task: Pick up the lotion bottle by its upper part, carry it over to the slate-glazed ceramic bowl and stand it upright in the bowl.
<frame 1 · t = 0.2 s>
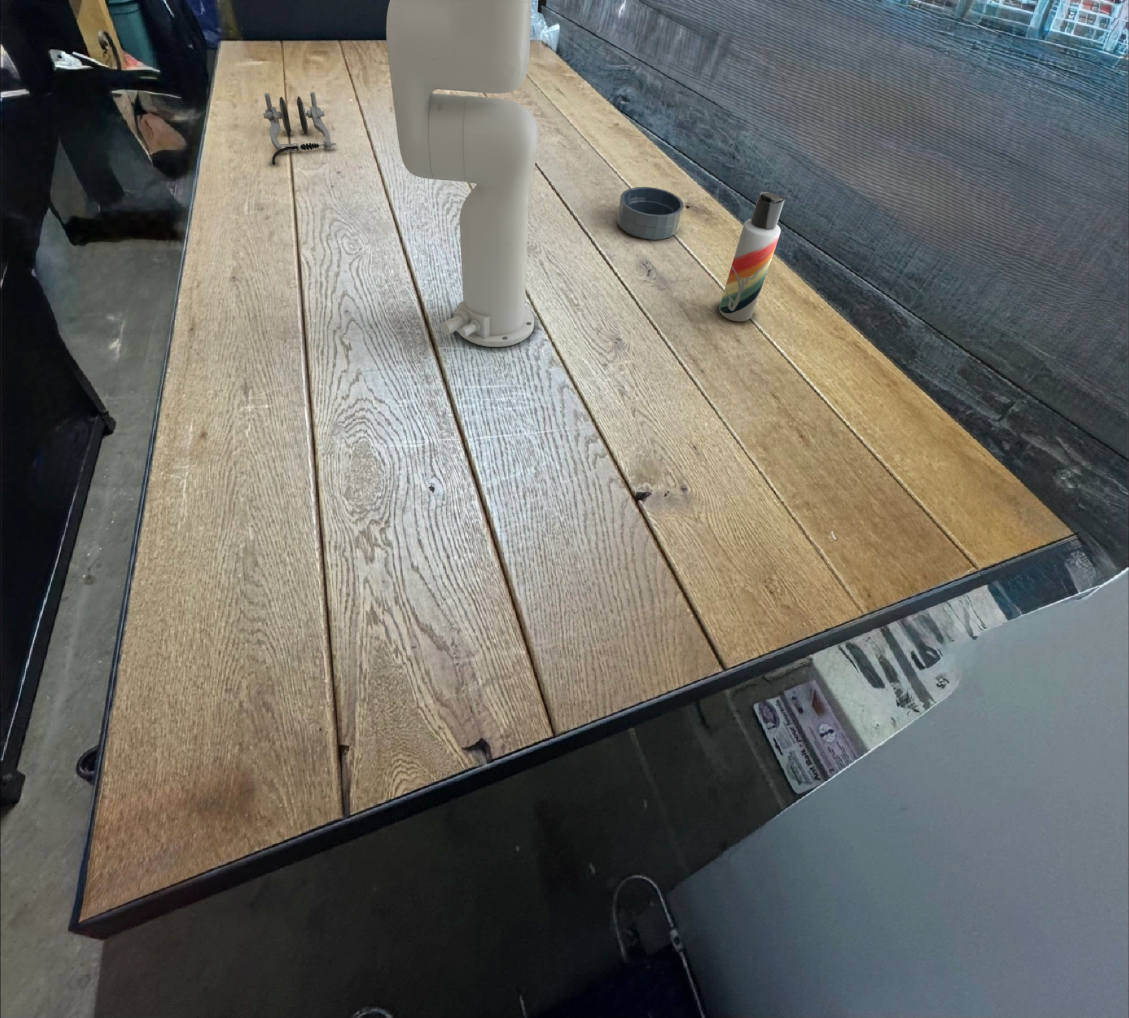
hand: (510, 8, 109), 31 cm above the table, tool pointing down, fingers open, 9 cm apart
lotion bottle: (734, 313, 111), on the table
bowl: (647, 226, 129), on the table
bike brake: (301, 144, 141), on the table
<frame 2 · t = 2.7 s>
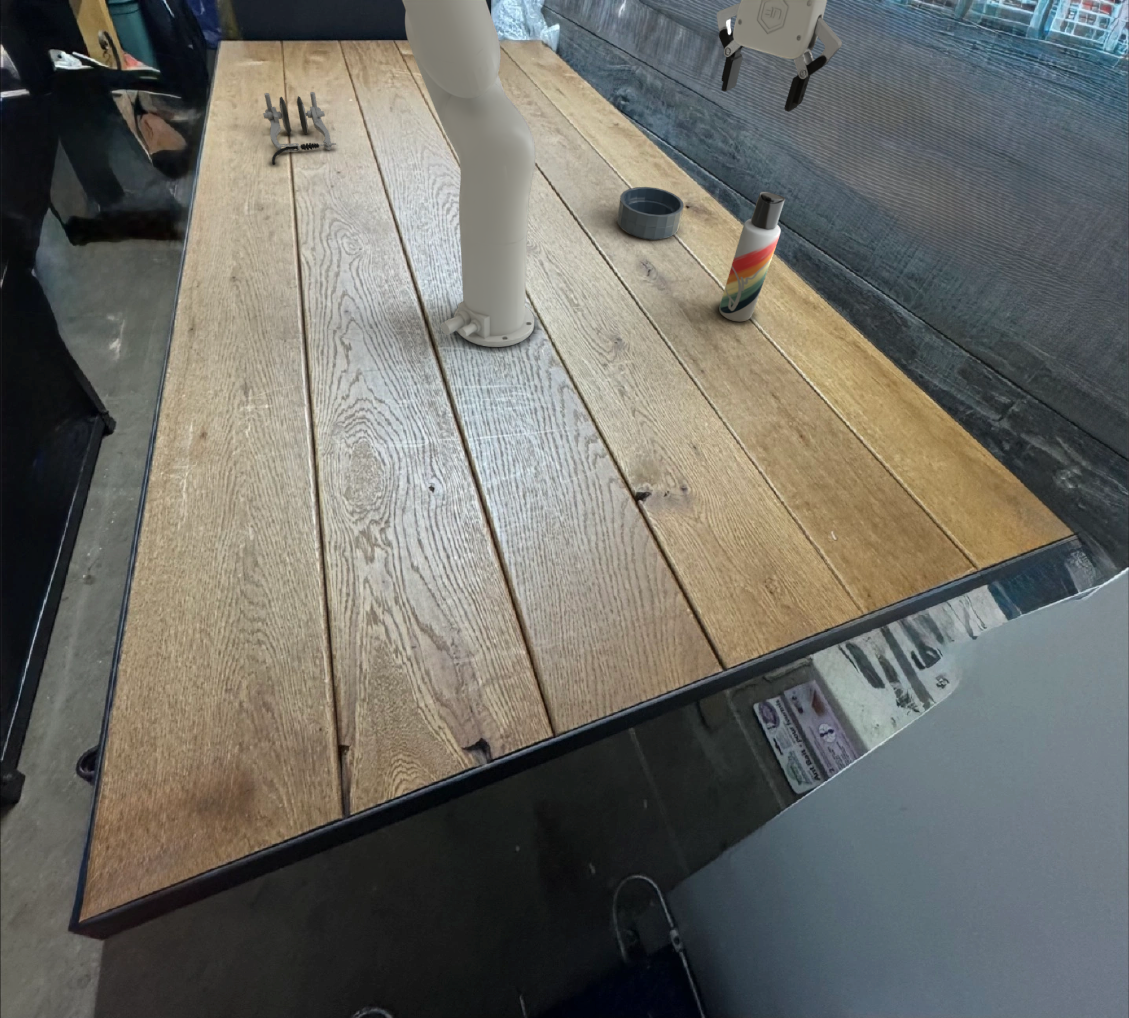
hand: (758, 98, 90), 31 cm above the table, tool pointing down, fingers open, 9 cm apart
nothing on the table moved.
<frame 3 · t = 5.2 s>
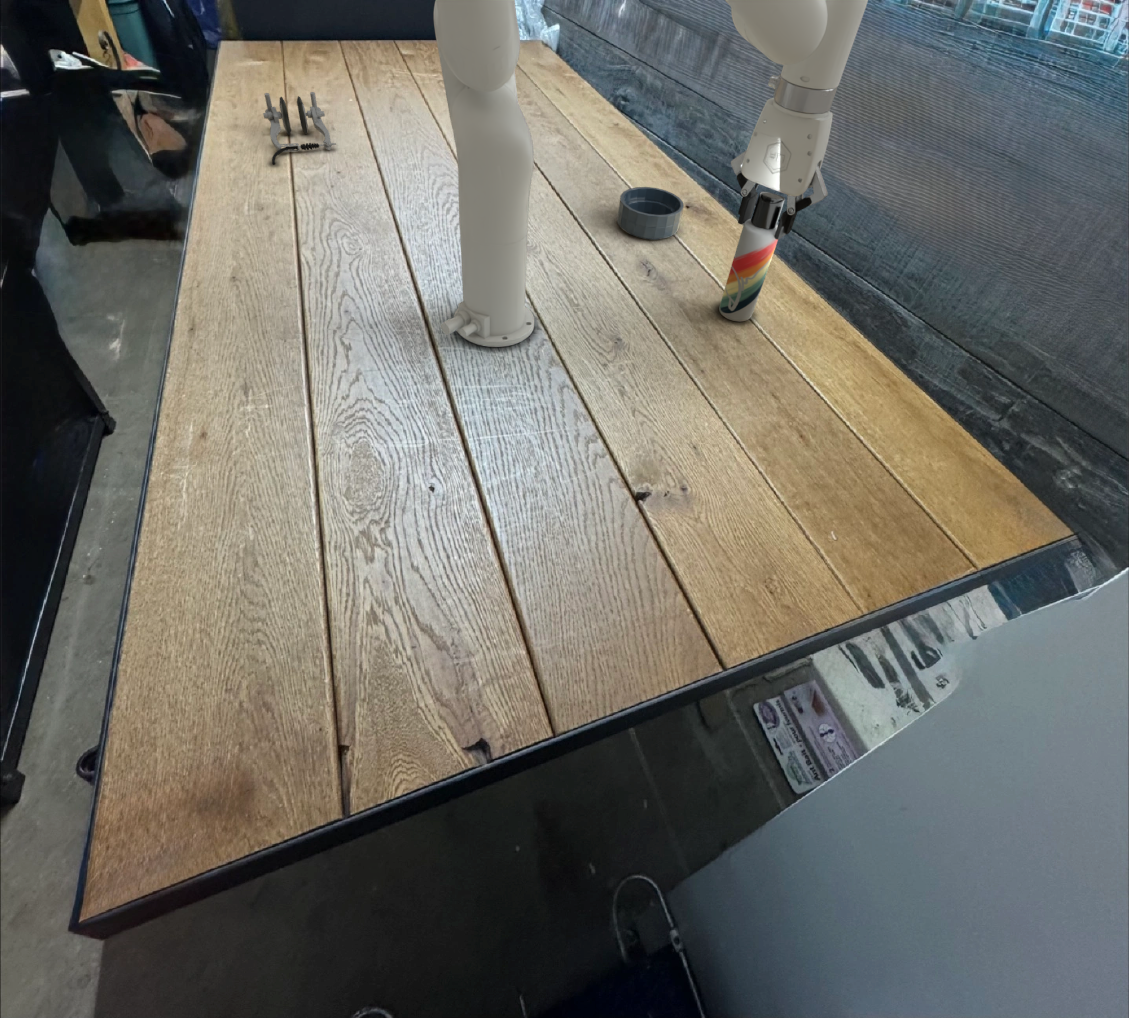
hand: (762, 227, 100), 15 cm above the table, tool pointing down, fingers closed on lotion bottle, 5 cm apart
lotion bottle: (734, 313, 111), on the table, touching gripper
everything else where it was.
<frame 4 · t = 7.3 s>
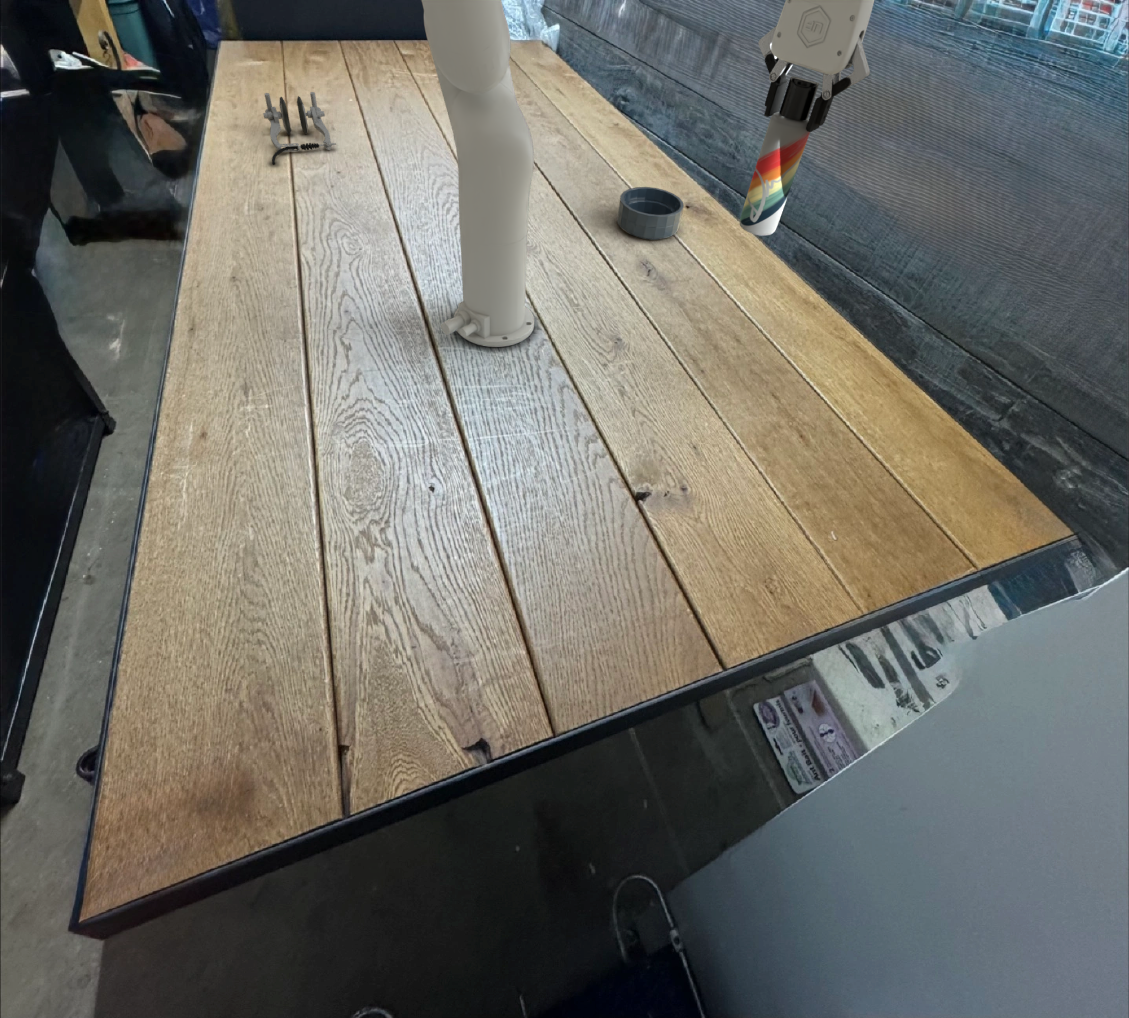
hand: (791, 120, 89), 30 cm above the table, tool pointing down, fingers closed on lotion bottle, 5 cm apart
lotion bottle: (756, 228, 100), point 15 cm above the table, touching gripper
everything else where it was.
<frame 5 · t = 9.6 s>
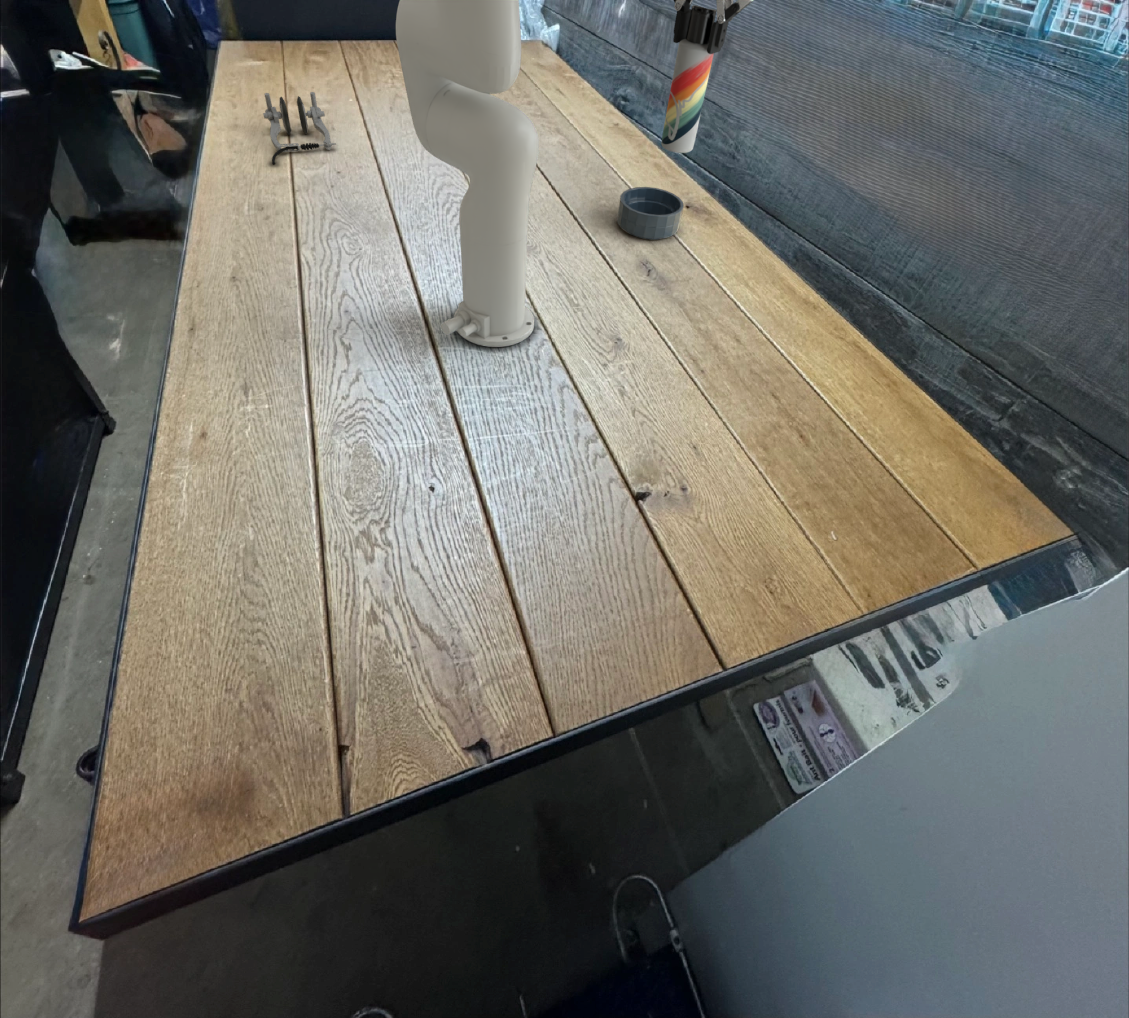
hand: (696, 45, 102), 31 cm above the table, tool pointing down, fingers closed on lotion bottle, 5 cm apart
lotion bottle: (676, 148, 114), point 16 cm above the table, touching gripper
everything else where it was.
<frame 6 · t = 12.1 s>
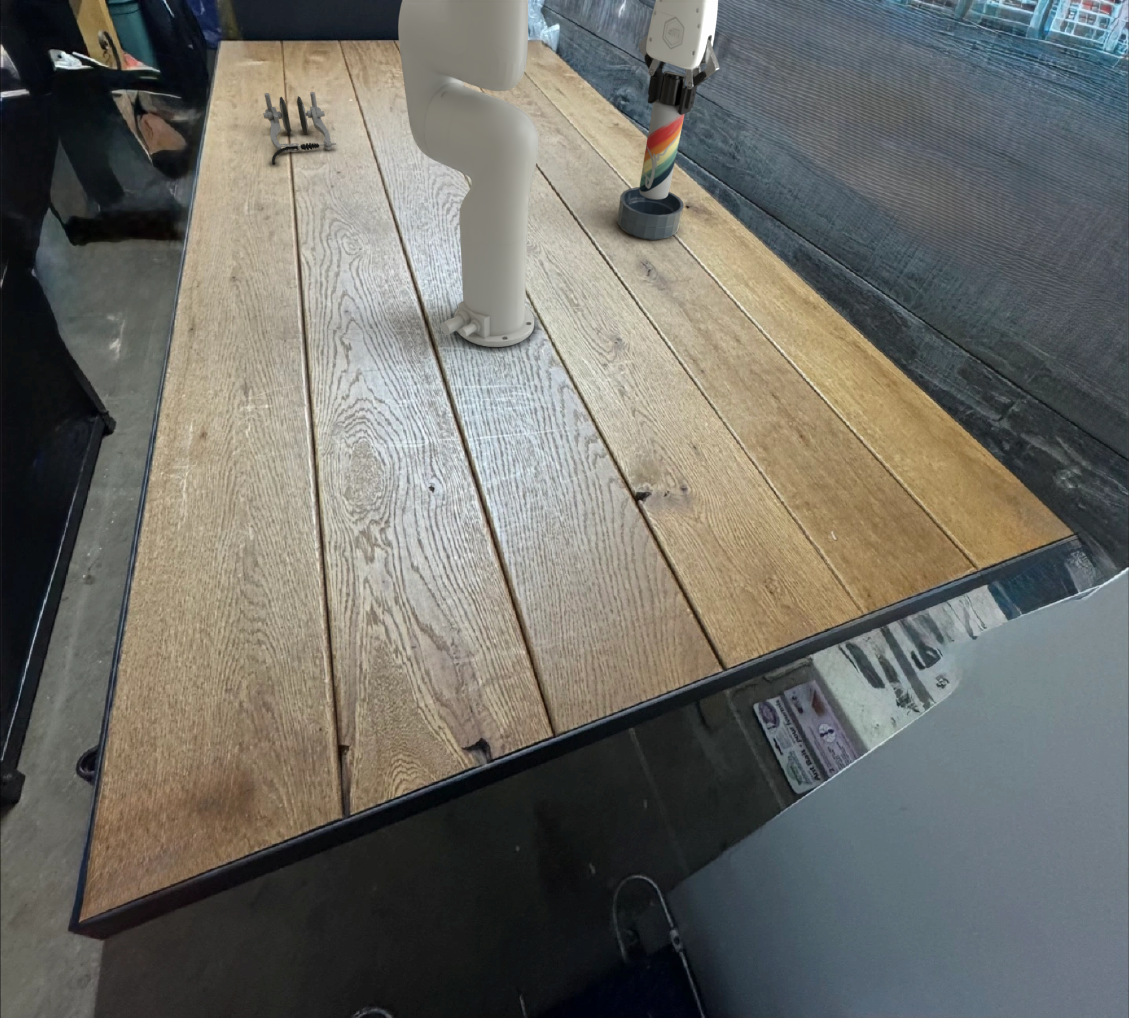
hand: (669, 105, 113), 21 cm above the table, tool pointing down, fingers closed on lotion bottle, 5 cm apart
lotion bottle: (653, 194, 124), point 6 cm above the table, touching gripper
everything else where it was.
when the fingers open (16 cm above the table, at t = 13.9 s): lotion bottle stays where it is, resting on bowl.
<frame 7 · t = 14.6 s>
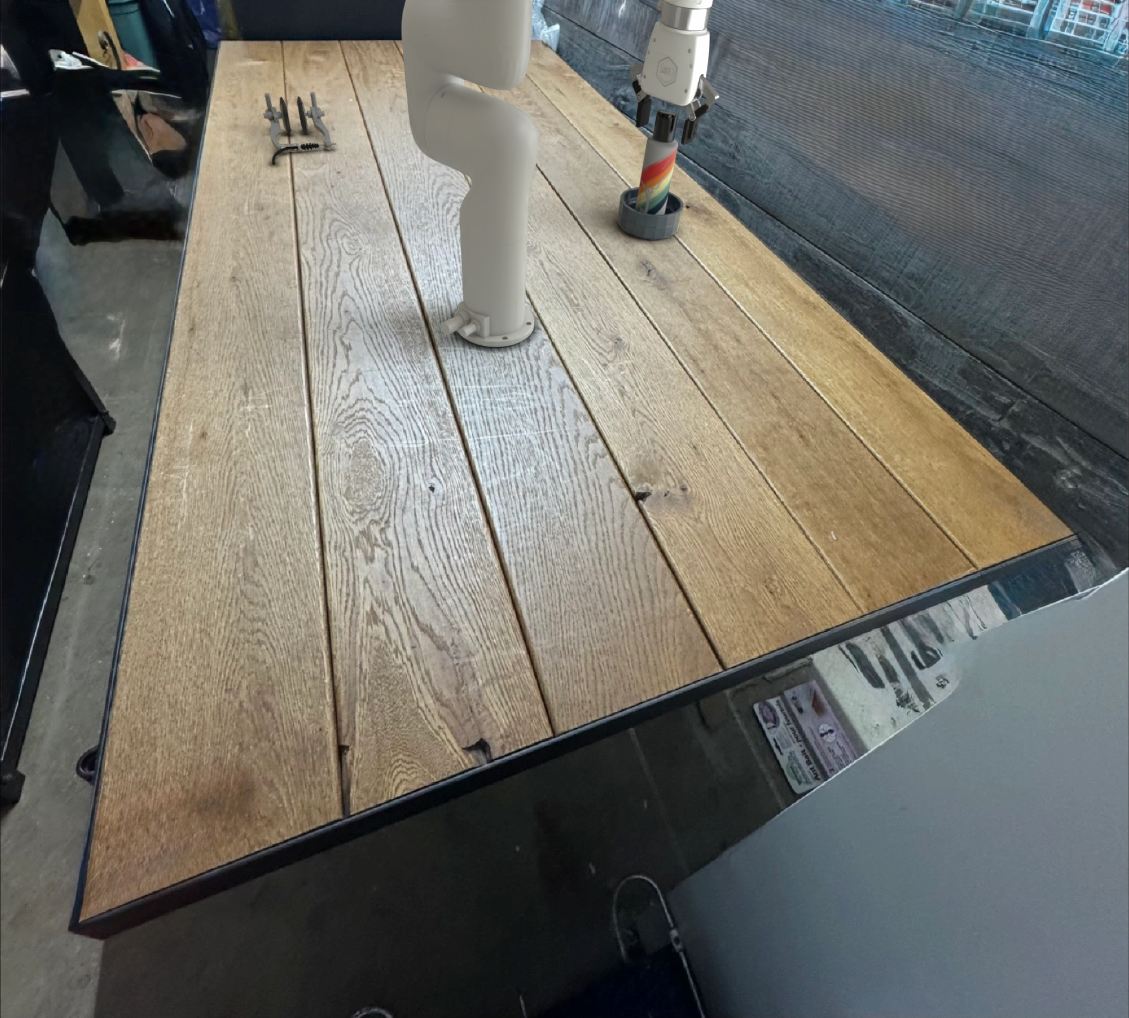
hand: (663, 134, 116), 17 cm above the table, tool pointing down, fingers open, 9 cm apart
lotion bottle: (647, 224, 129), resting on bowl
everything else where it was.
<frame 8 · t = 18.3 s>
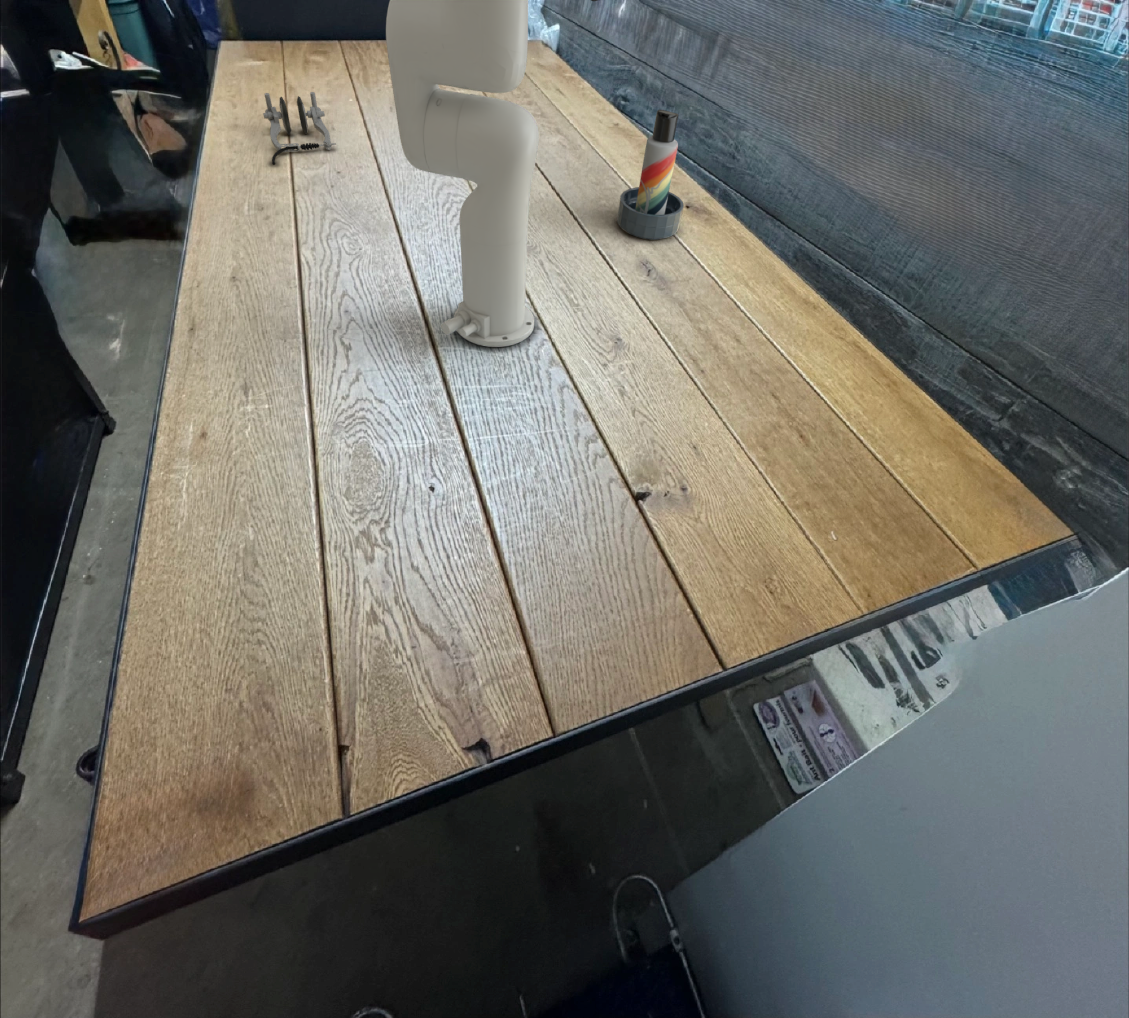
nothing on the table moved.
at the end: lotion bottle 0.1 cm off-centre in the bowl, point 0.4 cm above the bowl's base; lotion bottle tilted 0°; the gripper is holding nothing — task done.
